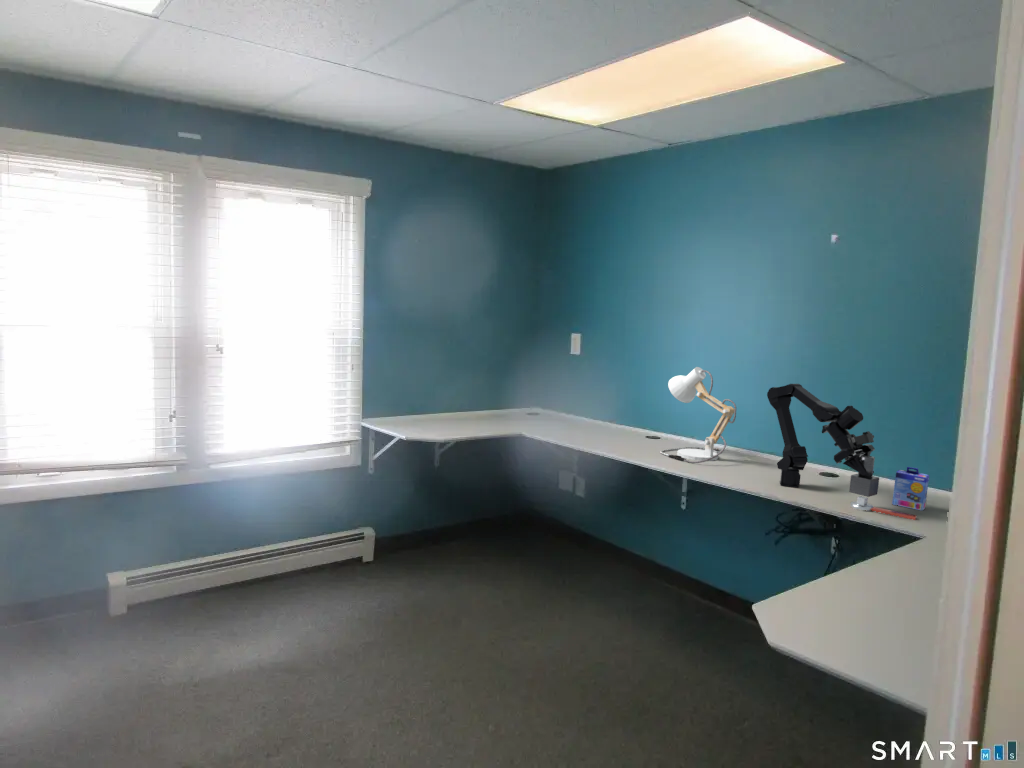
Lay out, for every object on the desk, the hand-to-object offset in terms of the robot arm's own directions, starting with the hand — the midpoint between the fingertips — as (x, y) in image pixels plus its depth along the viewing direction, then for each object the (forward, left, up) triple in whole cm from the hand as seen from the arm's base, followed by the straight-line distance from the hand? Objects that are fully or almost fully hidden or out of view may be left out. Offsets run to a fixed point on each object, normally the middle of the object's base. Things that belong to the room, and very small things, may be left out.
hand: (869, 474), depth 237 cm
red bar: (+5, -2, -13) cm, 14 cm away
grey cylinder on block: (-1, +1, -7) cm, 7 cm away
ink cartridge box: (+16, +12, -13) cm, 23 cm away
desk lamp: (-59, +59, -13) cm, 84 cm away
